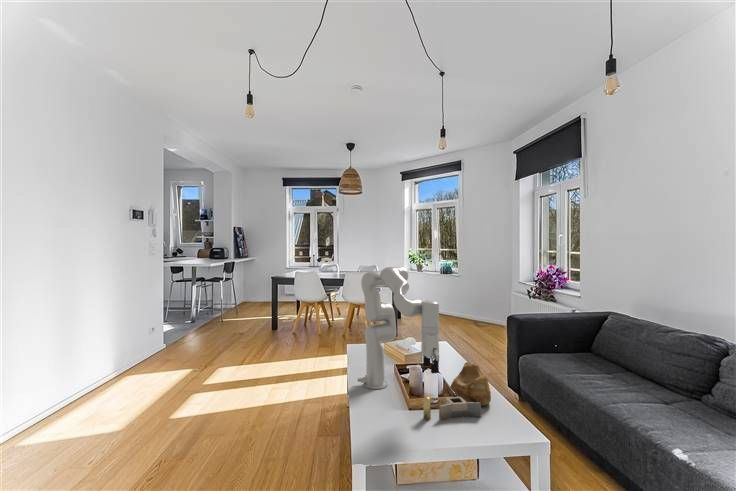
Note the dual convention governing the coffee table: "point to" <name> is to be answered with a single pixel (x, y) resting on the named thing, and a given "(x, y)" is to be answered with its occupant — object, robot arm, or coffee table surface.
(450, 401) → the hinge
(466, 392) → the rough brown rock
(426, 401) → the hinge pin
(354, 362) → the coffee table surface
